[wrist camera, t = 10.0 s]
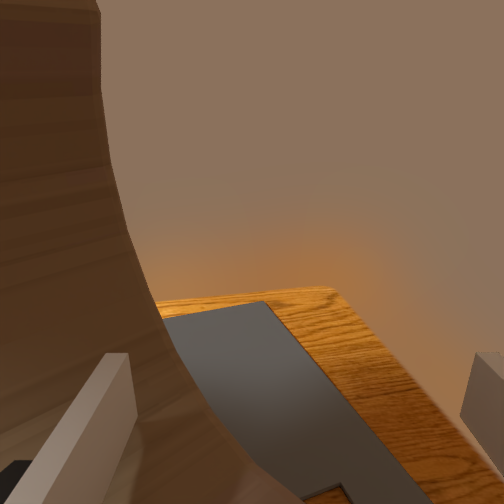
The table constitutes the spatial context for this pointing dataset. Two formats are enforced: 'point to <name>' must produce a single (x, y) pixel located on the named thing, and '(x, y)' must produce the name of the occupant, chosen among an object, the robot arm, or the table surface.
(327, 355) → the table surface
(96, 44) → the decorative block
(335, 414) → the mat
